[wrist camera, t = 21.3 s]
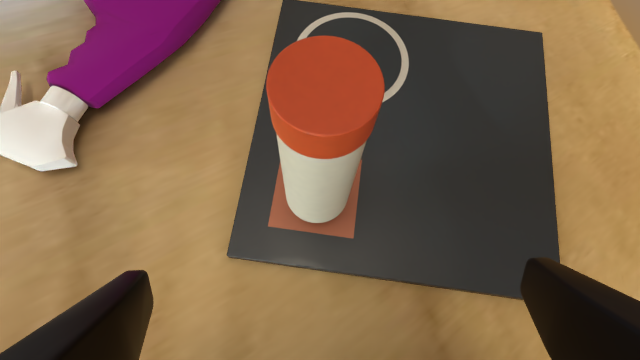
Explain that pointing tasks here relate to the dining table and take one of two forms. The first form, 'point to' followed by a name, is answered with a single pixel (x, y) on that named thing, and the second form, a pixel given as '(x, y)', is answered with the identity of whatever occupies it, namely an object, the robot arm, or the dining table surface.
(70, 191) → the dining table surface
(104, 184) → the dining table surface
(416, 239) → the board
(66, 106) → the spray bottle
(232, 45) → the dining table surface
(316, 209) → the white and orange cylinder
